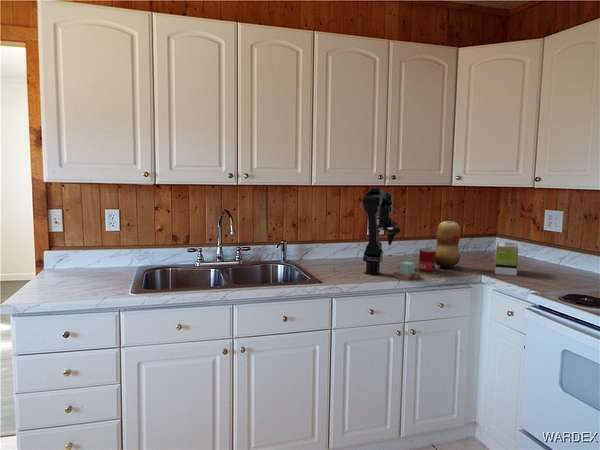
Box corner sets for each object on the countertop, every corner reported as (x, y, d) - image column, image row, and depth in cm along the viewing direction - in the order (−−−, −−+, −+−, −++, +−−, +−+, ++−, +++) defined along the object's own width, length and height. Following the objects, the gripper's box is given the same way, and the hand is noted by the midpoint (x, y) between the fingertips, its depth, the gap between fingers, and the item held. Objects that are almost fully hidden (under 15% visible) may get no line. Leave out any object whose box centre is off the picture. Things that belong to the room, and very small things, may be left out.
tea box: (495, 268, 221) (496, 241, 220) (516, 270, 217) (517, 242, 215) (494, 274, 208) (496, 245, 206) (516, 276, 203) (518, 246, 202)
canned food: (435, 272, 211) (436, 250, 210) (419, 271, 213) (420, 250, 212) (433, 268, 219) (434, 248, 218) (418, 268, 220) (419, 247, 219)
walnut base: (408, 280, 193) (408, 276, 193) (393, 276, 200) (393, 272, 200) (420, 277, 198) (420, 273, 198) (405, 274, 205) (405, 270, 205)
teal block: (407, 274, 195) (407, 264, 195) (399, 272, 199) (399, 262, 199) (414, 273, 198) (414, 263, 198) (406, 271, 202) (406, 261, 202)
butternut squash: (445, 271, 213) (447, 223, 211) (427, 266, 226) (429, 220, 223) (465, 268, 219) (467, 222, 216) (447, 264, 231) (449, 219, 229)
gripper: (407, 216, 219) (406, 245, 221) (381, 213, 234) (380, 241, 236) (393, 217, 213) (392, 247, 214) (367, 214, 228) (366, 242, 229)
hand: (383, 244), depth 224 cm, fingers open, 9 cm apart
